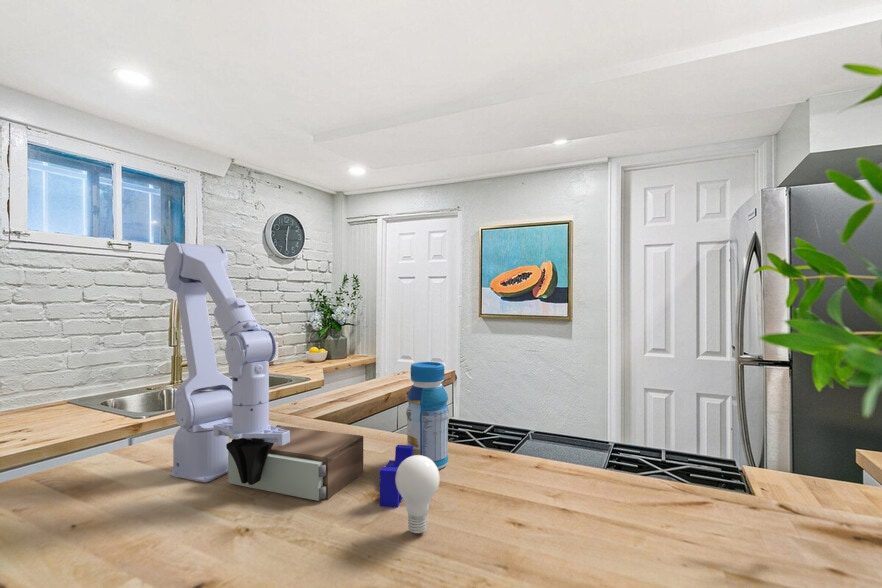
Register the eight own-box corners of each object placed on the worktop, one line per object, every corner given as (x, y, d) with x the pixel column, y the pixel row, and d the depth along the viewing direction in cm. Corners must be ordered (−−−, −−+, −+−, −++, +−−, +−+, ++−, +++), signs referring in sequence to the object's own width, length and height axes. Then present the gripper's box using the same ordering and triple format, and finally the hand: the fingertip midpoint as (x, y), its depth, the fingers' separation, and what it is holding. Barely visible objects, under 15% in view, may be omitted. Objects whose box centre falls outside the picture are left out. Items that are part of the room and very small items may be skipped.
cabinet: (234, 482, 82) (233, 443, 82) (278, 459, 93) (277, 425, 93) (328, 499, 75) (327, 457, 75) (363, 472, 86) (363, 435, 86)
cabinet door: (228, 482, 81) (228, 449, 80) (233, 480, 82) (233, 447, 82) (323, 501, 73) (323, 465, 73) (327, 498, 74) (327, 462, 74)
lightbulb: (423, 550, 60) (423, 468, 60) (386, 536, 64) (386, 459, 63) (448, 528, 66) (447, 453, 65) (412, 517, 69) (412, 445, 69)
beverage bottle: (440, 475, 85) (440, 368, 84) (399, 469, 87) (399, 366, 87) (454, 458, 92) (453, 361, 92) (415, 454, 95) (415, 359, 95)
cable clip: (389, 476, 85) (389, 444, 84) (413, 477, 84) (413, 445, 84) (370, 506, 73) (370, 469, 73) (397, 508, 72) (397, 471, 72)
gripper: (198, 403, 75) (198, 485, 75) (268, 411, 70) (269, 499, 70) (231, 394, 81) (231, 469, 81) (298, 401, 76) (298, 480, 77)
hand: (251, 481), depth 76 cm, fingers closed, pressing on cabinet door
